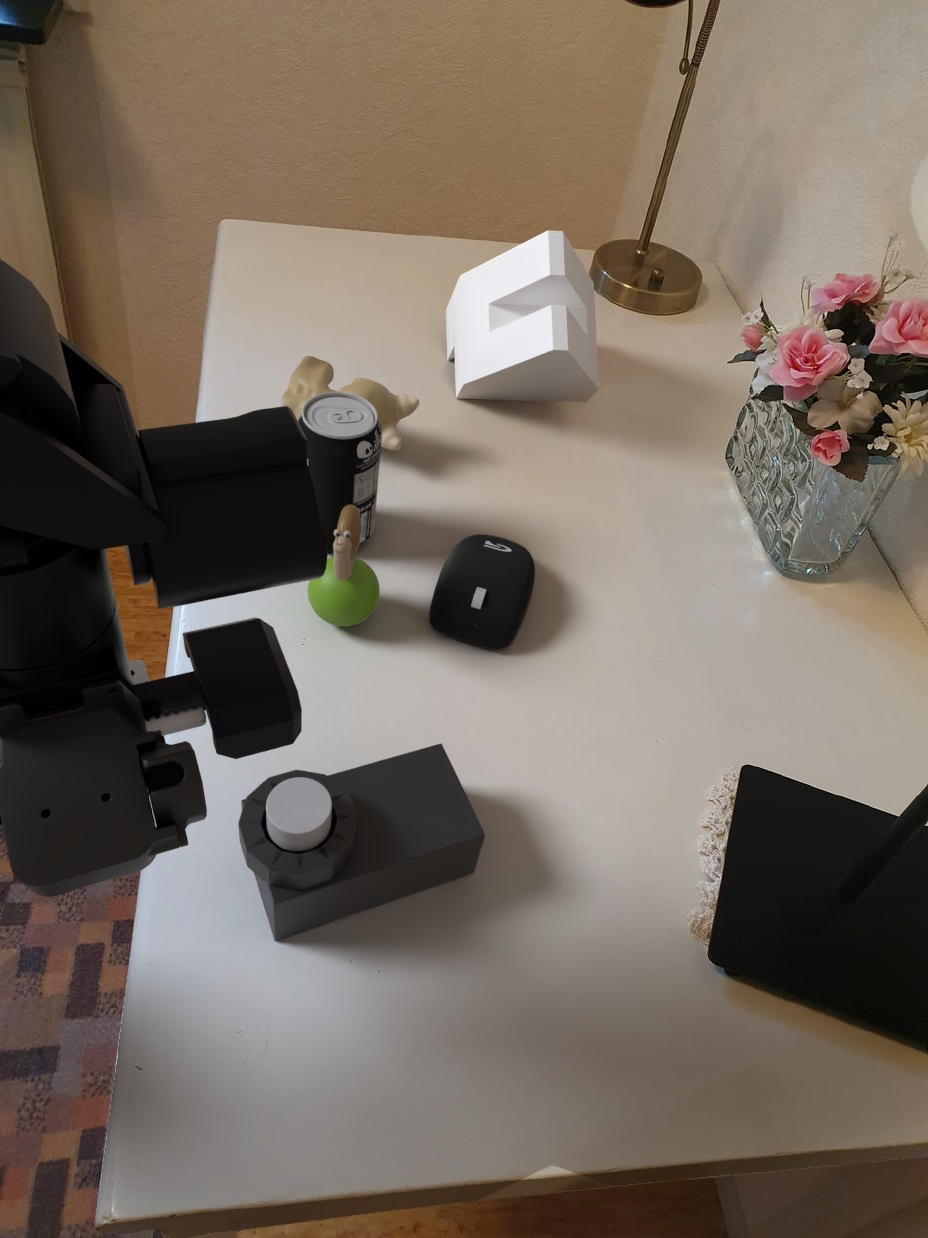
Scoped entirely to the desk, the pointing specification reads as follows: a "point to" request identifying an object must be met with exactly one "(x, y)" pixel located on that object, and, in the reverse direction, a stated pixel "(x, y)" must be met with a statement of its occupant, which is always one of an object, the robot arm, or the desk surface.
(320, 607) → the snail figurine
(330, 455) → the beverage can
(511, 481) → the desk surface
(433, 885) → the push button base
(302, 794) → the gray round disc
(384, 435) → the dinosaur figurine
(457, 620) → the computer mouse
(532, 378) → the slotted wedge
